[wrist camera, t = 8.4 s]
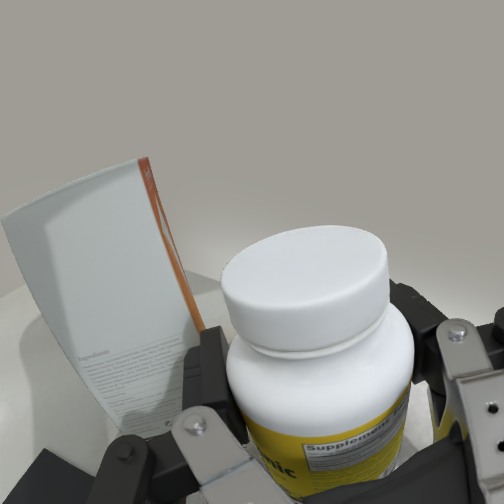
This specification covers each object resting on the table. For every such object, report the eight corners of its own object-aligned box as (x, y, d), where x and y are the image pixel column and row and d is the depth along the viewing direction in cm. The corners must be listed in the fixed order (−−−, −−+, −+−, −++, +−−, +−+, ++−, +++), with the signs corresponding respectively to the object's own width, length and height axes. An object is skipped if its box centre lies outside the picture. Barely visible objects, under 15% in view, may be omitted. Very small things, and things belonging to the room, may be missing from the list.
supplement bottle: (263, 432, 13) (195, 246, 10) (369, 398, 14) (357, 202, 10) (284, 529, 8) (185, 360, 5) (416, 482, 9) (471, 266, 5)
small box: (237, 414, 15) (139, 155, 10) (128, 444, 14) (-6, 218, 9) (209, 334, 22) (148, 153, 17) (130, 360, 21) (54, 190, 16)
